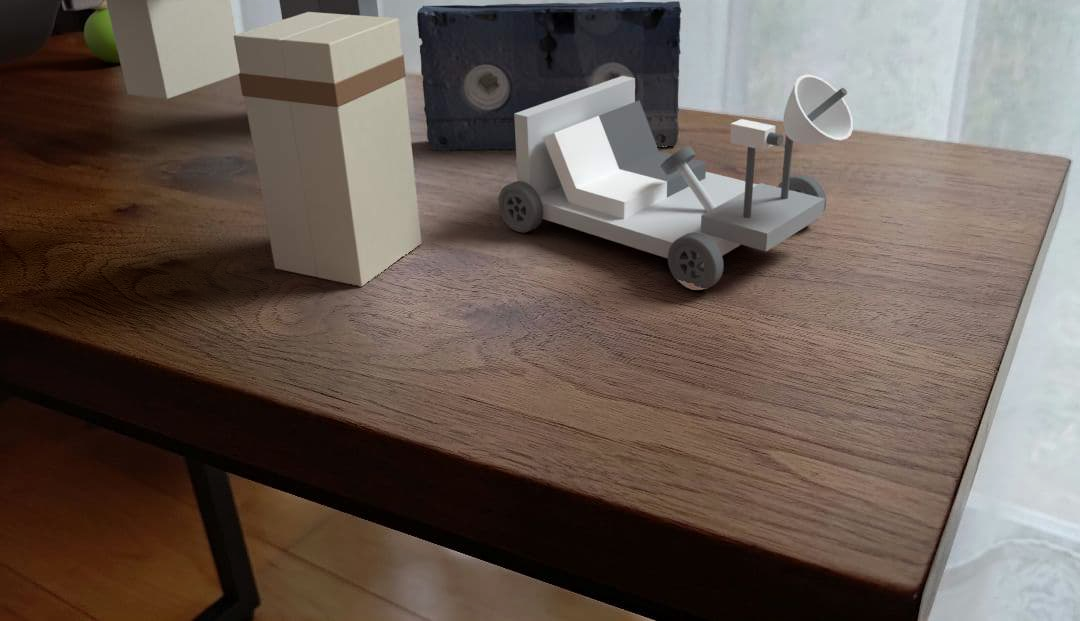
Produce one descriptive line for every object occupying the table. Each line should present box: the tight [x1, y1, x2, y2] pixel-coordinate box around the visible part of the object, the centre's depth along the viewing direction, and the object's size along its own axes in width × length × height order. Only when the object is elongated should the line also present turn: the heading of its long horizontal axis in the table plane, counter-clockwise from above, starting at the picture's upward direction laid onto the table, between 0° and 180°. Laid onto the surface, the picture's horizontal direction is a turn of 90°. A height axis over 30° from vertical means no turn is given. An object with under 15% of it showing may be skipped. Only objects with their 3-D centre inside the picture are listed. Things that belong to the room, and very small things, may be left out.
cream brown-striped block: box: [234, 12, 422, 287], centre depth 54 cm, size 6×6×13 cm
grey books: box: [278, 0, 379, 20], centre depth 78 cm, size 6×6×14 cm
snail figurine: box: [83, 0, 121, 64], centre depth 98 cm, size 5×6×12 cm
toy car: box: [497, 74, 854, 290], centre depth 56 cm, size 18×10×12 cm
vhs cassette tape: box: [416, 0, 682, 151], centre depth 71 cm, size 18×3×10 cm, turn 84°
